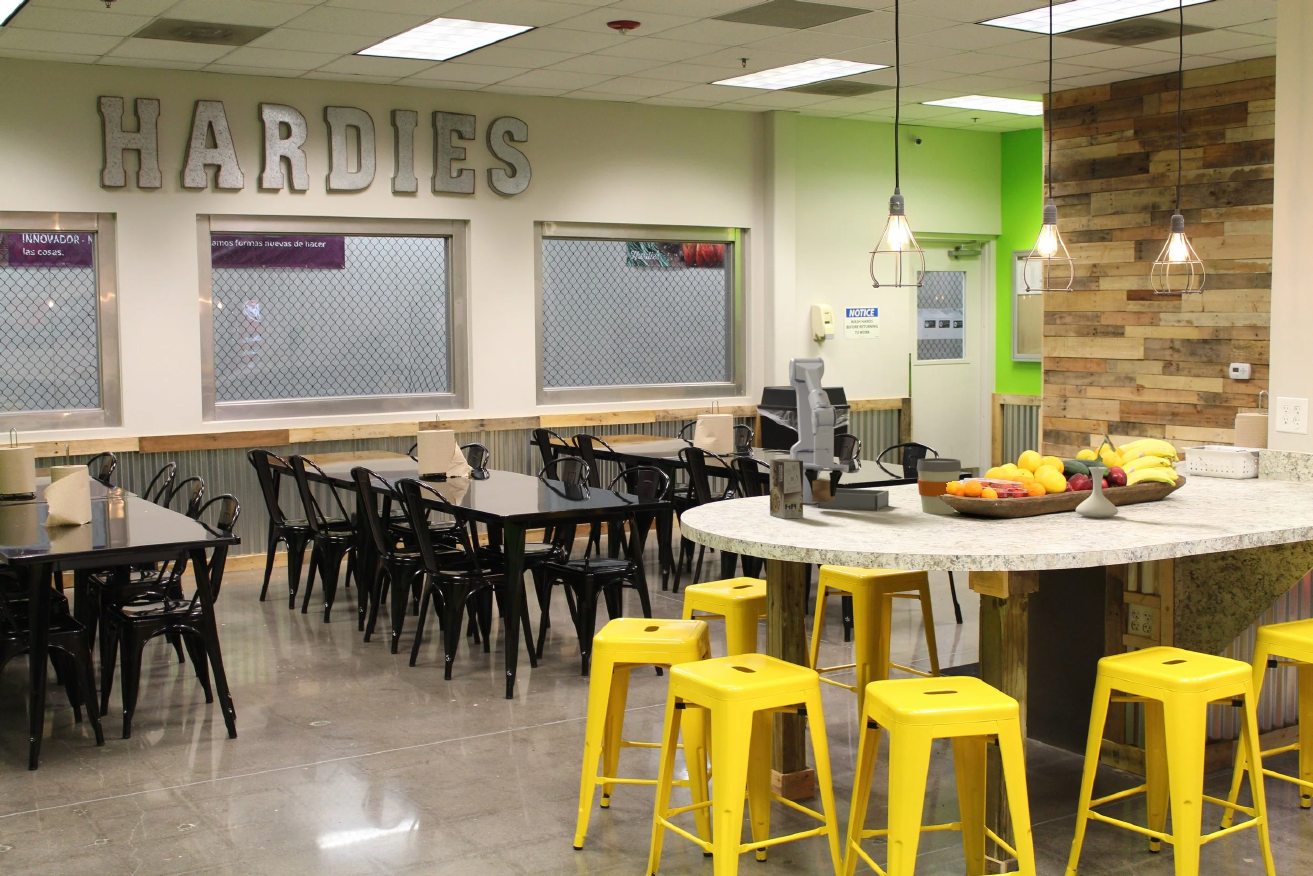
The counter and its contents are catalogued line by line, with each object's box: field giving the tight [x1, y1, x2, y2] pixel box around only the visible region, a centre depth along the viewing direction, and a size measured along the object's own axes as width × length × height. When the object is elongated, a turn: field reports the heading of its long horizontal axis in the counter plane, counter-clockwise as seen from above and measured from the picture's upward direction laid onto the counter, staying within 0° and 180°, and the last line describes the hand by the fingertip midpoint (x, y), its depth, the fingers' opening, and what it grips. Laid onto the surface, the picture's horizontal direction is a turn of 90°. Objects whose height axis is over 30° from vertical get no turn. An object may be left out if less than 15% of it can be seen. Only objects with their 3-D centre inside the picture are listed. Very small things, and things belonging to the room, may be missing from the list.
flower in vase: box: [1075, 426, 1119, 518], centre depth 377 cm, size 13×11×25 cm
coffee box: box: [769, 458, 804, 520], centre depth 381 cm, size 9×6×16 cm
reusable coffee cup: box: [916, 457, 962, 515], centre depth 389 cm, size 13×13×15 cm
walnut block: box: [812, 478, 834, 502], centre depth 392 cm, size 5×5×6 cm
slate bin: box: [817, 487, 890, 511], centre depth 402 cm, size 18×12×4 cm, turn 65°
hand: (823, 495), depth 393 cm, fingers closed on walnut block, 5 cm apart
